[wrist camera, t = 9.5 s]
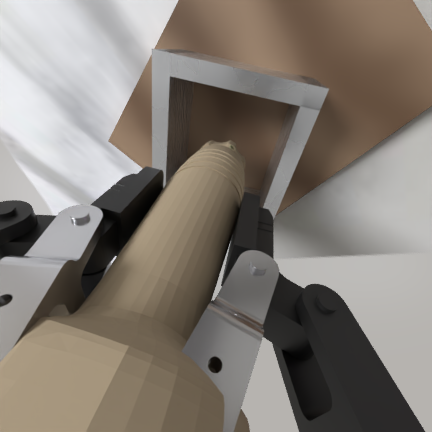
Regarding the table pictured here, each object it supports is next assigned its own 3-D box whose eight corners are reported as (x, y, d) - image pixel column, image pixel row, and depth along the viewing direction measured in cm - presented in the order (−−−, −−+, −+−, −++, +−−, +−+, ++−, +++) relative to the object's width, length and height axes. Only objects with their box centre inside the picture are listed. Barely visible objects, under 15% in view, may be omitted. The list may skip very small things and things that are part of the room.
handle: (280, 165, 15) (301, 556, 3) (207, 203, 18) (84, 479, 7) (243, 100, 14) (13, 447, 2) (168, 154, 17) (-99, 412, 5)
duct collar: (183, 49, 15) (151, 48, 11) (314, 78, 15) (329, 88, 11) (174, 178, 21) (152, 207, 18) (267, 202, 21) (265, 237, 17)
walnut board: (282, -189, 10) (282, -209, 9) (453, 81, 14) (464, 83, 14) (114, 137, 21) (108, 140, 21) (237, 236, 25) (236, 242, 25)
